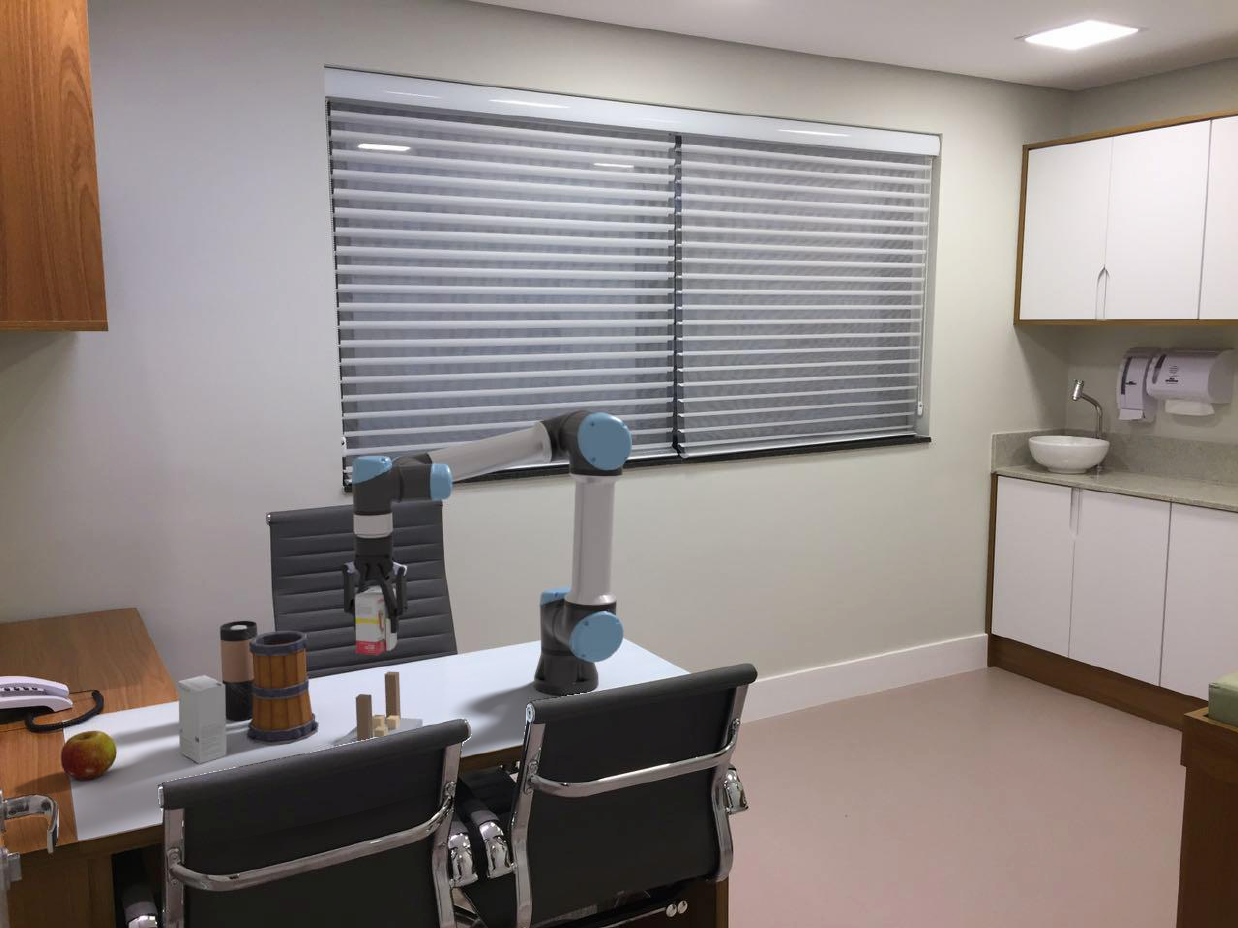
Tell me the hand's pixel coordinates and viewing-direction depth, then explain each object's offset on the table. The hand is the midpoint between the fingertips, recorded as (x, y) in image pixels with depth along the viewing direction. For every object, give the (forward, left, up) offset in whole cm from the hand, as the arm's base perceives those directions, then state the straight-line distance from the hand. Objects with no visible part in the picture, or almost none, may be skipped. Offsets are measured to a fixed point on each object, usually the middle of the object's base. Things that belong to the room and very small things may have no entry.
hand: (377, 647), depth 205 cm
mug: (+22, -3, -19) cm, 29 cm away
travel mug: (+35, -8, -19) cm, 41 cm away
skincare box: (+31, +13, -19) cm, 39 cm away
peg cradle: (0, 0, -19) cm, 19 cm away
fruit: (+47, +25, -19) cm, 57 cm away
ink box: (0, 0, 0) cm, 0 cm away
